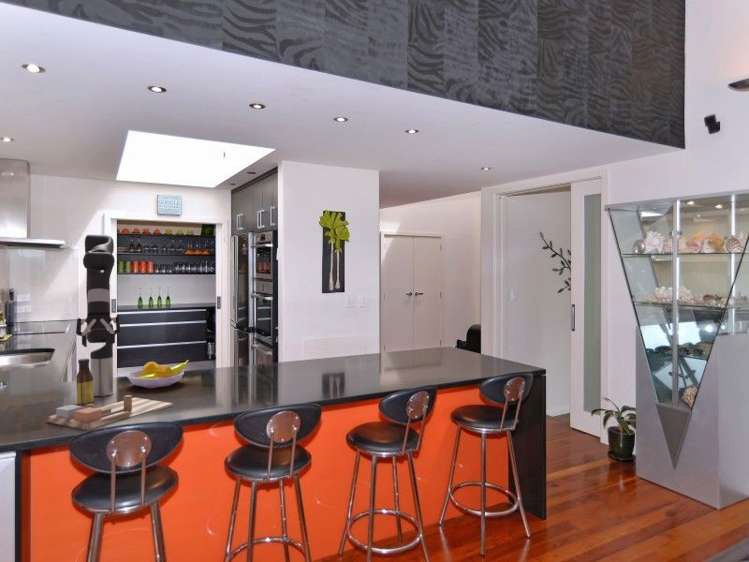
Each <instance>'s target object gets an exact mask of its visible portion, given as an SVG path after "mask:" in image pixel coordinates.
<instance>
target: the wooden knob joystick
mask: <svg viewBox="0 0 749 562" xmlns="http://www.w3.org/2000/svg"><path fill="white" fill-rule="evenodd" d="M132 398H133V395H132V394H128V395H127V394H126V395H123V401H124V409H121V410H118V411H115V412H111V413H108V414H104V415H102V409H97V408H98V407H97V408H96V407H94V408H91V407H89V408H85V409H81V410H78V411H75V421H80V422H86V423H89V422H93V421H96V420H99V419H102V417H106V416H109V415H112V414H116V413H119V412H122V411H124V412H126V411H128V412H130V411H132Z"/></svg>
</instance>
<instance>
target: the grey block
mask: <svg viewBox="0 0 749 562" xmlns="http://www.w3.org/2000/svg"><path fill="white" fill-rule="evenodd" d="M85 406H86V408H89V407H91V408H95V404H94V403H93V404H86V405H85ZM83 407H84V406H83V405H78V404H77V405H76V404H68V405H64V406H61V407H57V408H56V409H55V410H56V411H55V414H56V417H59V418H65V419H71V418H75V411H78V410H81V409H83Z"/></svg>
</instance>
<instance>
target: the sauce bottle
mask: <svg viewBox="0 0 749 562" xmlns="http://www.w3.org/2000/svg"><path fill="white" fill-rule="evenodd" d="M77 362H78V372H77V374H76V376H75V377H76V378H75V379H76V399H77V400H76V401H77V406H86V404H94V402H95V397H94V389H93V377H92V375H91V369H90V358H78V361H77Z"/></svg>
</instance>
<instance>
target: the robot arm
mask: <svg viewBox="0 0 749 562" xmlns="http://www.w3.org/2000/svg"><path fill="white" fill-rule="evenodd" d="M114 244H115V243H114V239H113V236H110V235H107V234H87V235H86V236H85V239H84V256H83V258H82V264H83V267H84V269H86V281H85V283H86V287H85V288H86V291H85V292H86V307H87V308H86V309H87V310H86V311H87V312H86V314H87V315H86V318H80V317H78V318H77V319H76V328H75V334H76V336H79V337H81V345H82V346H83V347H84V348H87V347H88V343H89V344H100V343H101V344H103V343H105V344H104V345H103V346H102V347H100V348H98V349H95V350H92V351H91V352H90V353H89V354H90V358H89V369H90V372H91V375H92V377H93V389H94V396H101V397H107V395H108V396H111V395H113V394H114V348H113V347H114V344H115V343H116V335H117V334H121V321H120V317H119V316H115V317H111V296H110V294H111V291H110V290H111V285H110V281H111V279H110V278H111V275H112V272H113V269H114V266H115V263H116V261H115V256H114V255H113V253H114V248H115V245H114ZM112 322H113V323H112ZM84 323H86V327H85V329H84V330H83V331H82V325H84ZM114 324H115V329H114Z"/></svg>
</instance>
